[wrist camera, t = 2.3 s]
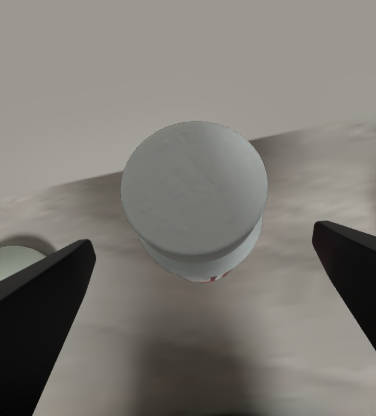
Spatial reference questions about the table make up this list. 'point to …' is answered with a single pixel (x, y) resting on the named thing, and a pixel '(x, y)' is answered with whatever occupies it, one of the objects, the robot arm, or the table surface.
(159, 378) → the table surface
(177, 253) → the pill bottle
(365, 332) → the robot arm
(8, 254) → the dish
